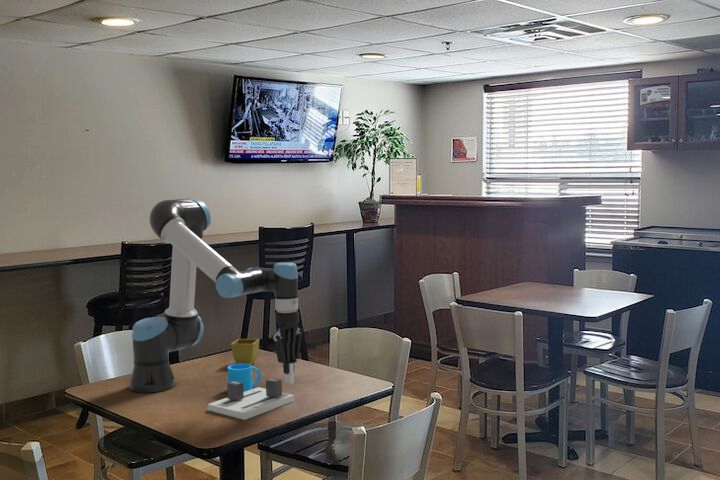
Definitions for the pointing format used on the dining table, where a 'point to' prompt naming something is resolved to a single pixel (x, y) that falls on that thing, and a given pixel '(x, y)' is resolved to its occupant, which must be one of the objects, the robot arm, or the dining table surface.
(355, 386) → the dining table surface
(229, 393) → the fader
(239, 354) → the flower pot
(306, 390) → the dining table surface
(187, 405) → the dining table surface
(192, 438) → the dining table surface
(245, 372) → the mug
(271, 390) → the fader
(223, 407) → the console
